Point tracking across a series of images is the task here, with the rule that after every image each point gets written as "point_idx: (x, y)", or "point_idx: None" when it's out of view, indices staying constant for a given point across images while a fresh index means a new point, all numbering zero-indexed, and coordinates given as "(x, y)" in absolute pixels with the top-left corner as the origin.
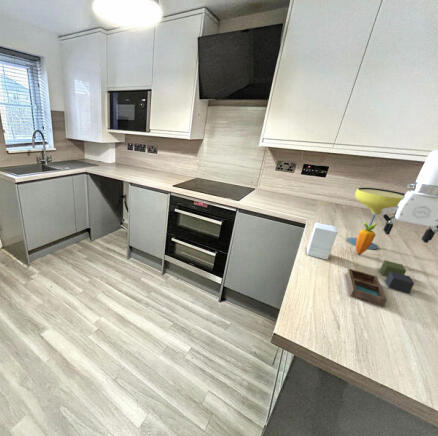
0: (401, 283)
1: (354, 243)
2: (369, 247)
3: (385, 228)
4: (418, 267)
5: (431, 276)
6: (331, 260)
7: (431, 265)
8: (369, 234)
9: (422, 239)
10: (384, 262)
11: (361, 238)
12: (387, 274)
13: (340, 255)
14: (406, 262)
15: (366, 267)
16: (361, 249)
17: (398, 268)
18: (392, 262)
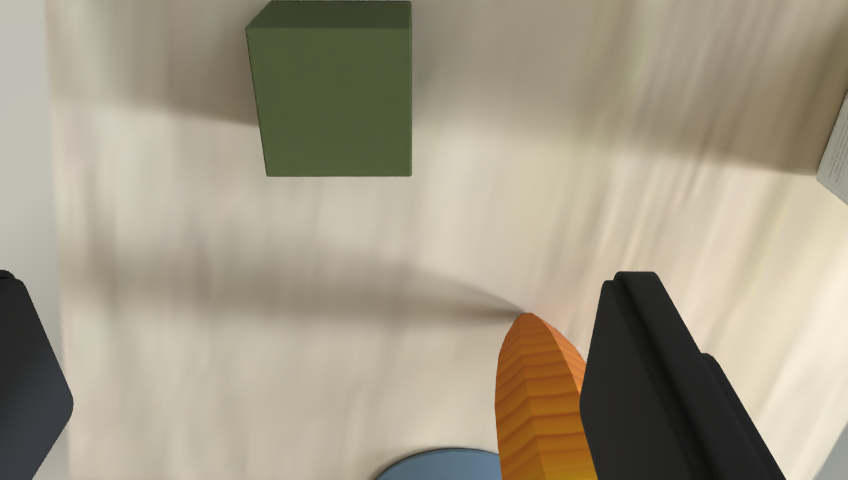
0: None
1: None
2: (422, 468)
3: (728, 393)
4: (146, 351)
5: (69, 252)
6: (829, 28)
7: (77, 429)
8: (576, 472)
9: (56, 380)
10: (411, 139)
11: None
12: (380, 5)
13: (687, 209)
14: (213, 384)
15: (520, 88)
16: (543, 333)
17: (311, 37)
18: (345, 168)
